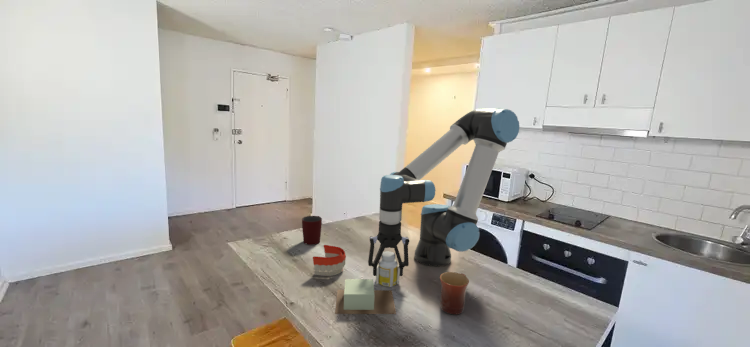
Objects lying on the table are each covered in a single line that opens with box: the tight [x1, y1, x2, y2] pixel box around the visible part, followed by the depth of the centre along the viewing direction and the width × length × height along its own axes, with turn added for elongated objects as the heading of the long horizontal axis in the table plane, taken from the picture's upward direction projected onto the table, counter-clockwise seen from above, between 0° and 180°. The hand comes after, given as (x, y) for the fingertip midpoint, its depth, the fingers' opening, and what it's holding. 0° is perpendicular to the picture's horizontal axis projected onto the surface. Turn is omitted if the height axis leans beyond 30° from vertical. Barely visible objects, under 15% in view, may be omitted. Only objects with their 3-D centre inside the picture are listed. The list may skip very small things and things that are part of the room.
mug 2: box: [439, 271, 470, 315], centre depth 102 cm, size 12×9×10 cm
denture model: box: [312, 244, 347, 277], centre depth 122 cm, size 12×10×8 cm
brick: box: [343, 278, 375, 310], centre depth 102 cm, size 9×9×5 cm
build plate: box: [334, 289, 397, 315], centre depth 103 cm, size 18×13×1 cm
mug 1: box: [301, 215, 323, 246], centre depth 151 cm, size 12×9×11 cm
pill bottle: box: [378, 251, 399, 288], centre depth 114 cm, size 6×6×12 cm
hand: (387, 283), depth 115 cm, fingers closed on pill bottle, 6 cm apart
